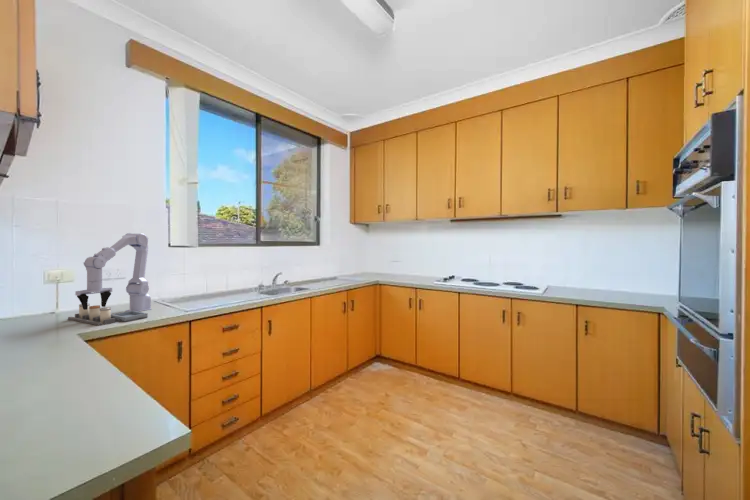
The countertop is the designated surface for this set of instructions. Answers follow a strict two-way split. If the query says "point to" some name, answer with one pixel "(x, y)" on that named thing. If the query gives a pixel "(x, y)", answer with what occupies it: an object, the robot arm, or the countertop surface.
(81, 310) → the cream capsule cylinder
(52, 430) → the countertop surface
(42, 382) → the countertop surface
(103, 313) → the fuse
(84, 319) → the clip rail
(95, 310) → the cylinder
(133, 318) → the tray
